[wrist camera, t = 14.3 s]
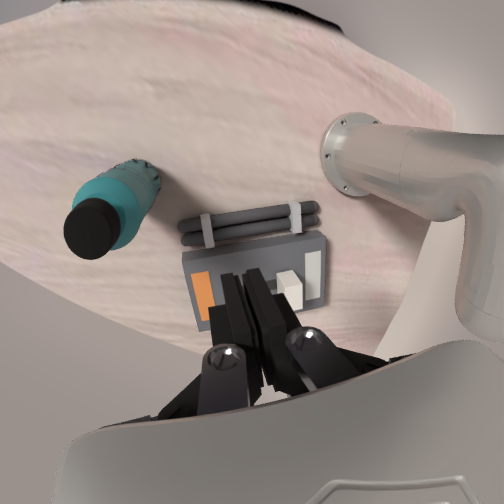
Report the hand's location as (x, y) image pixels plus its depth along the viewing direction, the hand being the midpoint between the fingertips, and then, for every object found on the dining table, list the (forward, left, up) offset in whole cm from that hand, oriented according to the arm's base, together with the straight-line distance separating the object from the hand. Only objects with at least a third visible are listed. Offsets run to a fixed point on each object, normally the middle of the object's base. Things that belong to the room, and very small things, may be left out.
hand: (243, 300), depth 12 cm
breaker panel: (-5, +15, -27) cm, 31 cm away
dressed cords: (-5, +6, -27) cm, 28 cm away
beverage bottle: (+9, -2, -27) cm, 29 cm away
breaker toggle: (-9, +15, -24) cm, 29 cm away
